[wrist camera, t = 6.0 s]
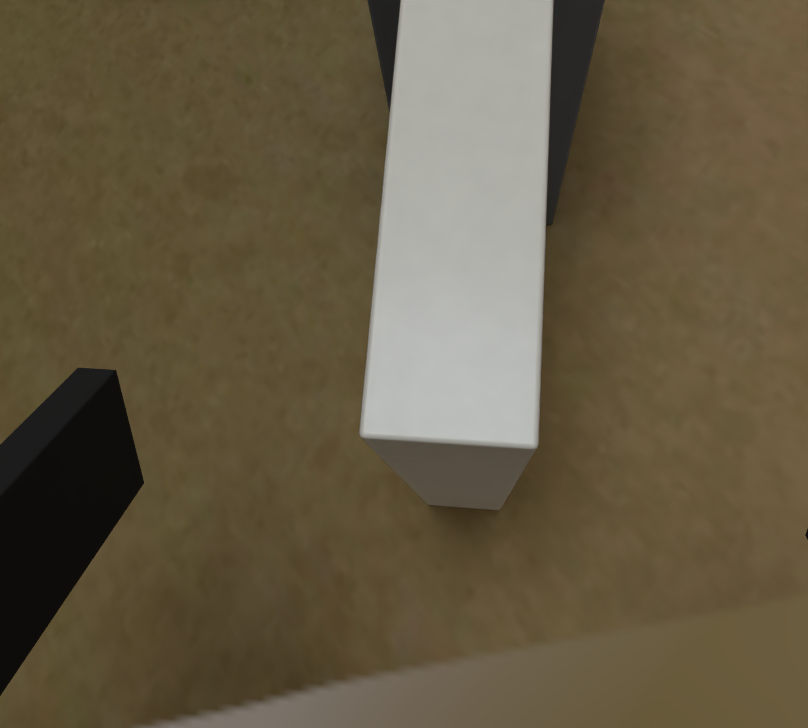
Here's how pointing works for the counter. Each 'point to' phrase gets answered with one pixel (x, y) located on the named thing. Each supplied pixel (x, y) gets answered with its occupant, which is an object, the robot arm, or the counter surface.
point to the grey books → (570, 63)
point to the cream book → (462, 250)
